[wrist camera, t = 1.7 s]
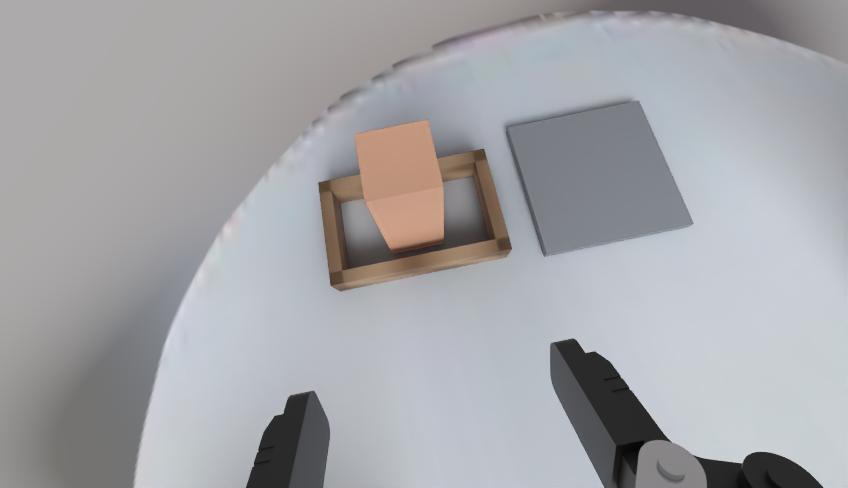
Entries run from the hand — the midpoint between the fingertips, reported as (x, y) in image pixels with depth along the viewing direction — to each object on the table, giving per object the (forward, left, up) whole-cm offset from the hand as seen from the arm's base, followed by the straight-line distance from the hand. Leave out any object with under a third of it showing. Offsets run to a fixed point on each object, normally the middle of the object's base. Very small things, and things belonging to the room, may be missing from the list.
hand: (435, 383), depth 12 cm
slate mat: (-16, -13, -16) cm, 26 cm away
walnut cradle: (0, -12, -16) cm, 20 cm away
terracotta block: (0, -12, -16) cm, 20 cm away
